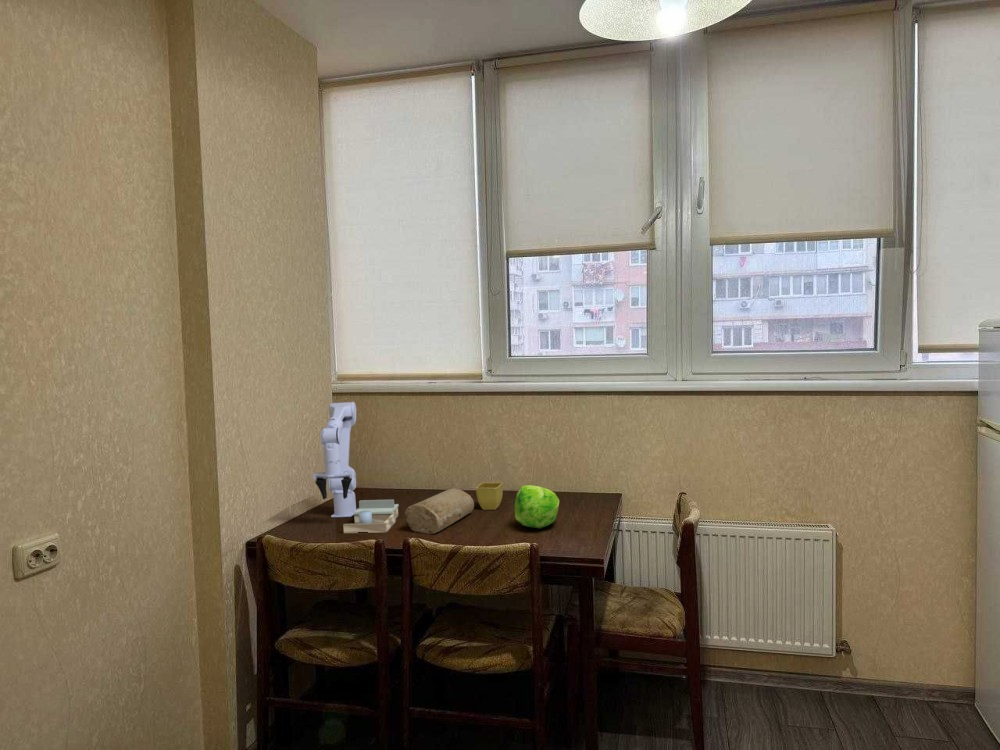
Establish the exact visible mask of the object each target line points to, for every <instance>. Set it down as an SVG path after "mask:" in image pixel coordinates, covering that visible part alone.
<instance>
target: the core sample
mask: <svg viewBox="0 0 1000 750" xmlns="http://www.w3.org/2000/svg"><path fill="white" fill-rule="evenodd" d="M474 507H475V502H474V499H473V498H472V497H471V495H470V494H468V493H466V492H465V491H464V490H461V489H459V488H449V489H446V490H444V491H442V492H440V493H437V494H435V495H433V496H431V497H428V498H426V499H424V500H422V501H419V502H417V503H414V504H412V505H409V506H408V507H407V508H406V509H405V512H404V513H405V514H404V515H405V516H406V521H407V525H408V527H409V528H410V529H411V530H412V531H414V532H416V533H422V534H426V535H427V534H429V535H434V534H437V533H438V532H441V531H442V530H444V529H445V528H447V527H449V526H451V525H452V524H454V523H456V522H457V521H460V520H461V519H462V518H464V517H465V516H467V515H468V514H470V513H472V512H473V510H474Z"/></svg>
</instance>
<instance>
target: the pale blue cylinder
mask: <svg viewBox="0 0 1000 750" xmlns="http://www.w3.org/2000/svg"><path fill="white" fill-rule="evenodd" d="M363 523H372V512H371V511H361V512H359V523H358V524H363Z"/></svg>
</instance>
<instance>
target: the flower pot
mask: <svg viewBox="0 0 1000 750" xmlns="http://www.w3.org/2000/svg"><path fill="white" fill-rule="evenodd" d="M474 488H475V493H476V494H475V495H476V499H477V502H478V504H479V506H480V507H481V509H482V510H487V511H488V510H489V511H490V510H493V511H495V510H497V508H499V507H500V505H501V502H502V499H503V496H504V494H503V491H504V482H481V483H480V484H478V485H477V486H476V487H474Z"/></svg>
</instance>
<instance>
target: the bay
mask: <svg viewBox="0 0 1000 750" xmlns="http://www.w3.org/2000/svg"><path fill="white" fill-rule="evenodd" d="M398 517H399V507H397V508H396V510H395V511H394V512H393V513H392V514H372V523H363V524H360V523H359V514H354V515H353V518H354V523H343V525H342V526H343V534H359V533H358V532H368V533H367V534H369V533H375V534H376V533H377V534H378V533H387V532H388V531H389V530H390V529H391V528H392V527H393V526H394V524H395V523H396V521H397V520H396V519H397V518H398Z"/></svg>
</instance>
